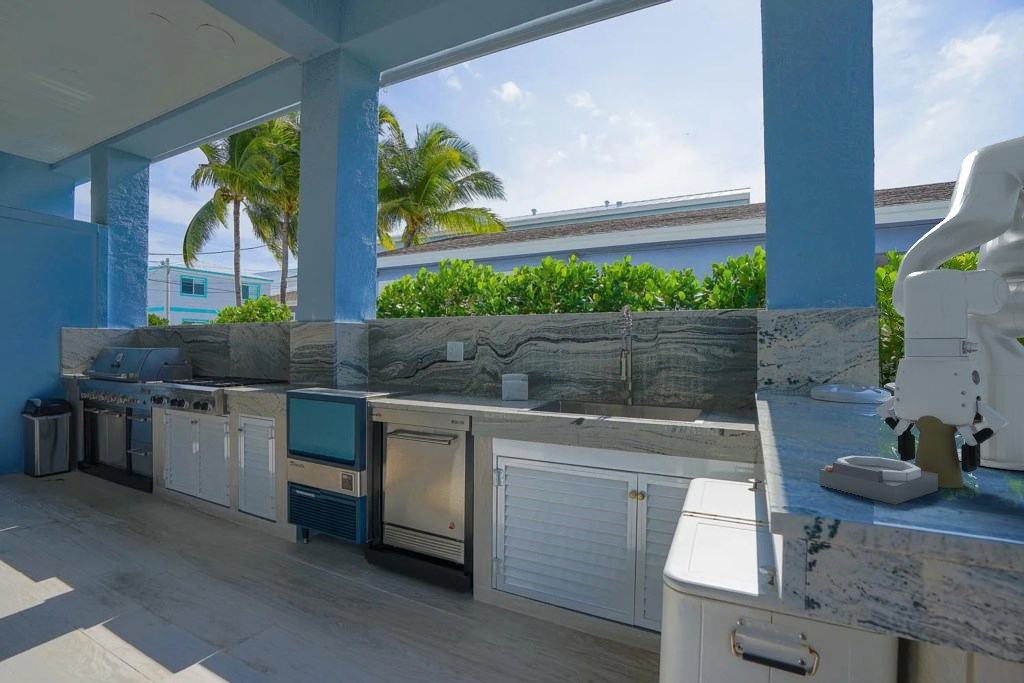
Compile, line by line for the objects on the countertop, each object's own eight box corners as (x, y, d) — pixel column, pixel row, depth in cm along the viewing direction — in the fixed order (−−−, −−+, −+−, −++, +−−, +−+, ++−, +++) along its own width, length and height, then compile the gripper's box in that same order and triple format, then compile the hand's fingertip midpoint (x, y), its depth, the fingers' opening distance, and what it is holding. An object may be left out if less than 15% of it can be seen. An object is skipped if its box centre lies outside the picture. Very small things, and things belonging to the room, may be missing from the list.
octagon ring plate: (863, 474, 81) (862, 450, 81) (937, 490, 72) (937, 463, 72) (819, 485, 76) (819, 459, 76) (895, 504, 67) (894, 475, 67)
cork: (974, 488, 73) (973, 414, 73) (927, 487, 74) (926, 413, 74) (947, 477, 79) (945, 408, 79) (904, 476, 80) (902, 408, 80)
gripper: (1022, 350, 71) (1024, 474, 71) (884, 349, 86) (886, 451, 86) (1000, 351, 67) (1002, 482, 67) (860, 350, 82) (862, 457, 82)
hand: (937, 464), depth 76 cm, fingers open, 7 cm apart
